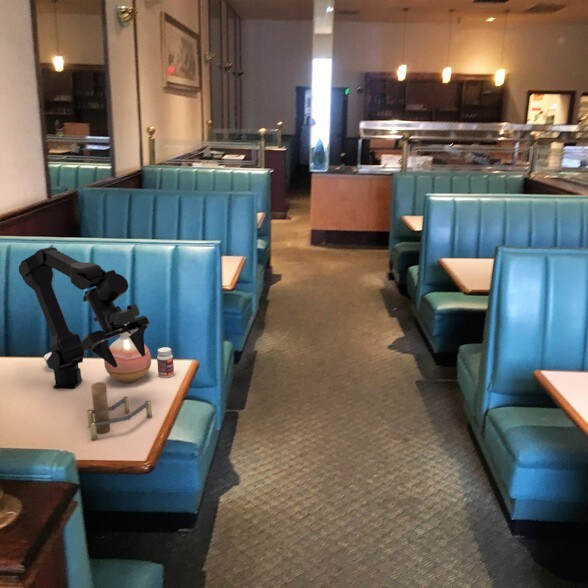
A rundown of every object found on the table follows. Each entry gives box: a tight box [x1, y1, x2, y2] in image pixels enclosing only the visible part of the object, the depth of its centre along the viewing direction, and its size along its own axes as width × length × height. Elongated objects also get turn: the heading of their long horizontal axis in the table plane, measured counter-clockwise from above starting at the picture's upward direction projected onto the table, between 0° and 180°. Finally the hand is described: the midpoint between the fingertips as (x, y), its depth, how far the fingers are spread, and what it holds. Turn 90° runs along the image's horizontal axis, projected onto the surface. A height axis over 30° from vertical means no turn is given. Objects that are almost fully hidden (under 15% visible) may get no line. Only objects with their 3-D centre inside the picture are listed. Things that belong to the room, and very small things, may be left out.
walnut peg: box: [90, 381, 111, 435], centre depth 156 cm, size 4×4×12 cm
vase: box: [103, 323, 152, 384], centre depth 186 cm, size 14×14×18 cm
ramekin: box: [43, 351, 54, 373], centre depth 198 cm, size 9×9×4 cm
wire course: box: [86, 395, 153, 441], centre depth 160 cm, size 15×16×4 cm
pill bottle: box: [156, 346, 175, 379], centre depth 190 cm, size 5×5×8 cm
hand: (130, 361), depth 164 cm, fingers open, 9 cm apart
